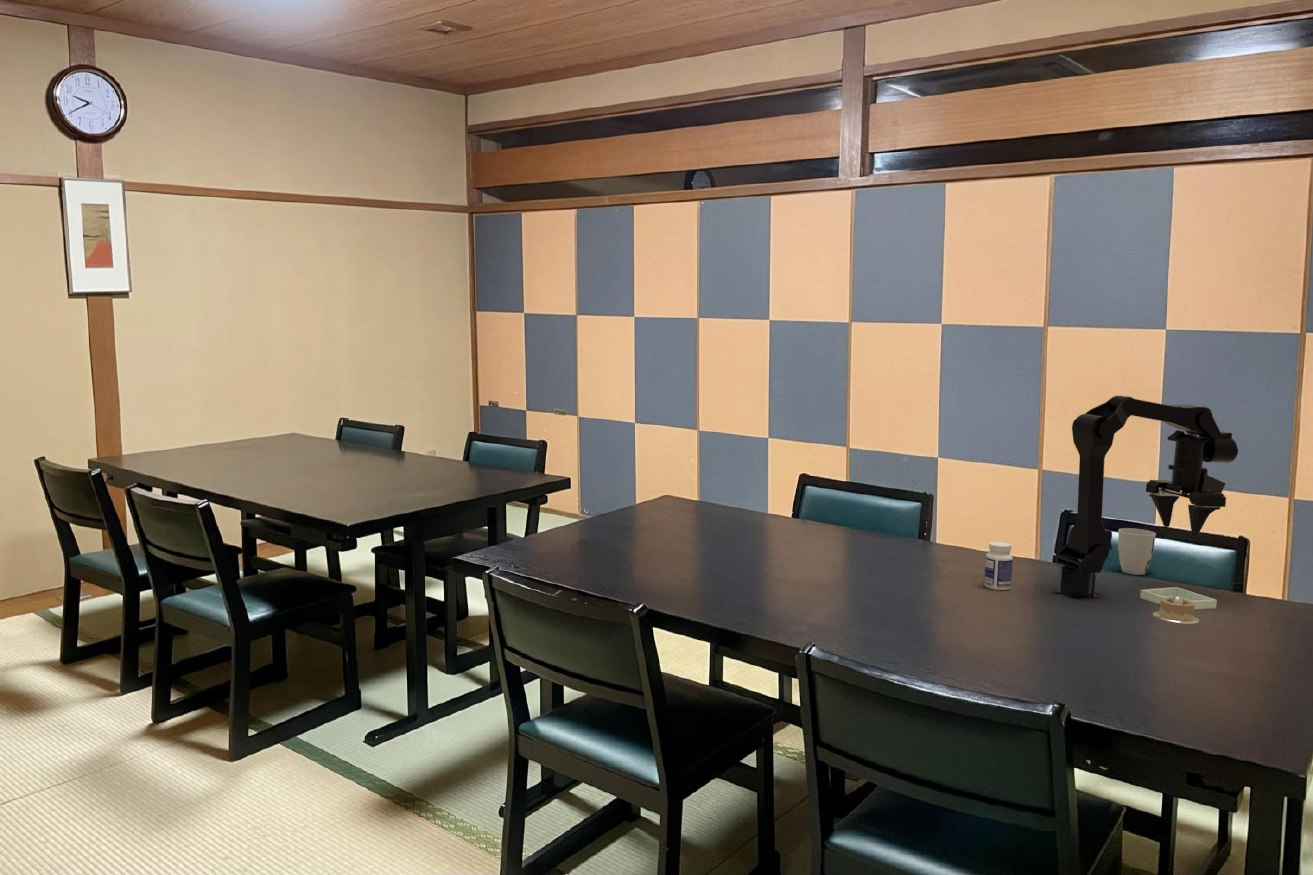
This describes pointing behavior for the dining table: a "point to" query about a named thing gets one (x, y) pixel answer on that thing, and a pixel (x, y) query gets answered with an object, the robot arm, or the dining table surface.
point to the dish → (1157, 594)
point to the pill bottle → (998, 566)
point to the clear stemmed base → (1176, 601)
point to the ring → (1176, 610)
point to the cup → (1135, 549)
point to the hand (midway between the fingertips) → (1180, 531)
